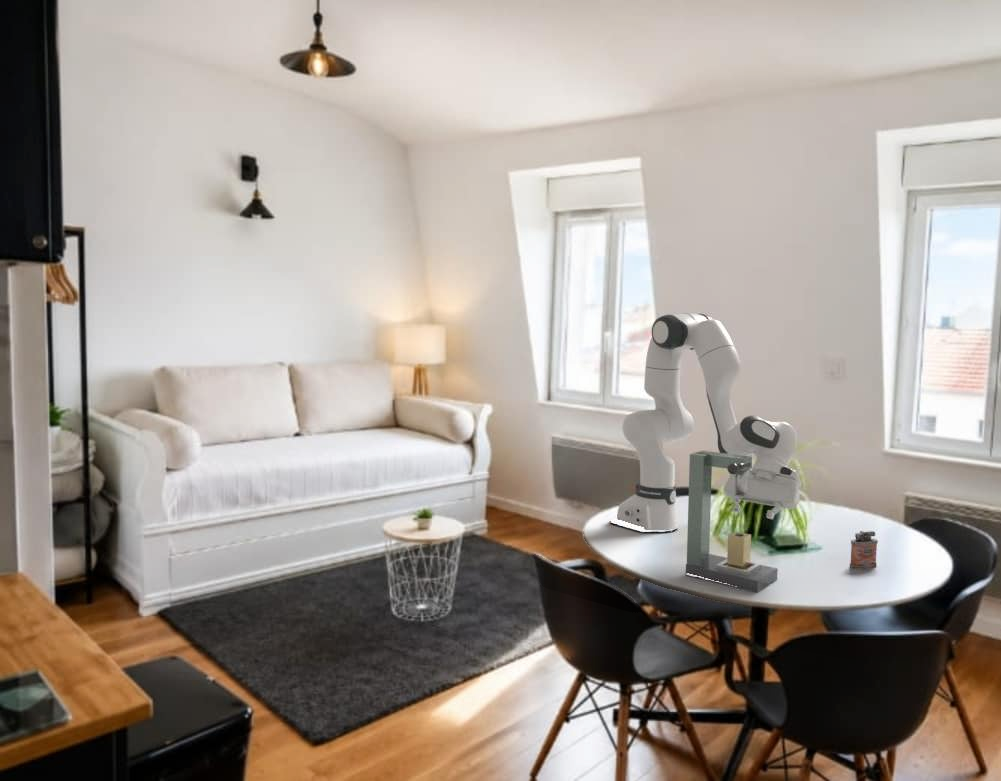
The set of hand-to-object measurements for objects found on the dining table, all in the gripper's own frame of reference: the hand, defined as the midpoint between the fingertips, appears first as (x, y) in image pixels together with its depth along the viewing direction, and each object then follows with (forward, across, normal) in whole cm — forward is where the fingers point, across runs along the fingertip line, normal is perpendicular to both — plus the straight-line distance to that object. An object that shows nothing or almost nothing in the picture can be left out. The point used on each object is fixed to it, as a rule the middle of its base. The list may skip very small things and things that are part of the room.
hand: (752, 514), depth 219 cm
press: (+19, -1, +3) cm, 19 cm away
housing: (+15, 0, +3) cm, 15 cm away
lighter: (-6, +22, +28) cm, 37 cm away
